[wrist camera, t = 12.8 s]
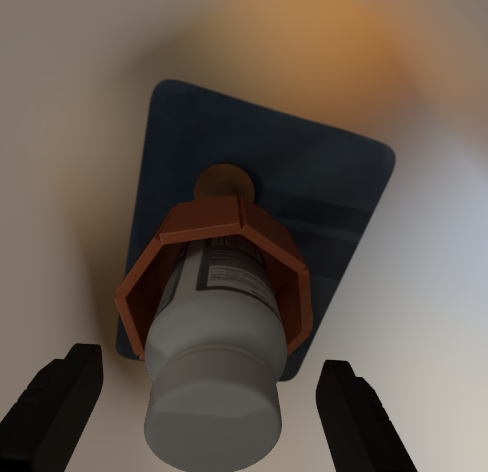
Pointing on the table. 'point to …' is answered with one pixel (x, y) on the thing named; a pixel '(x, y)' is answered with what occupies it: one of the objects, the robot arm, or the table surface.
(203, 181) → the stand
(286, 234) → the raised bowl
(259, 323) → the pill bottle
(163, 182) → the table surface
